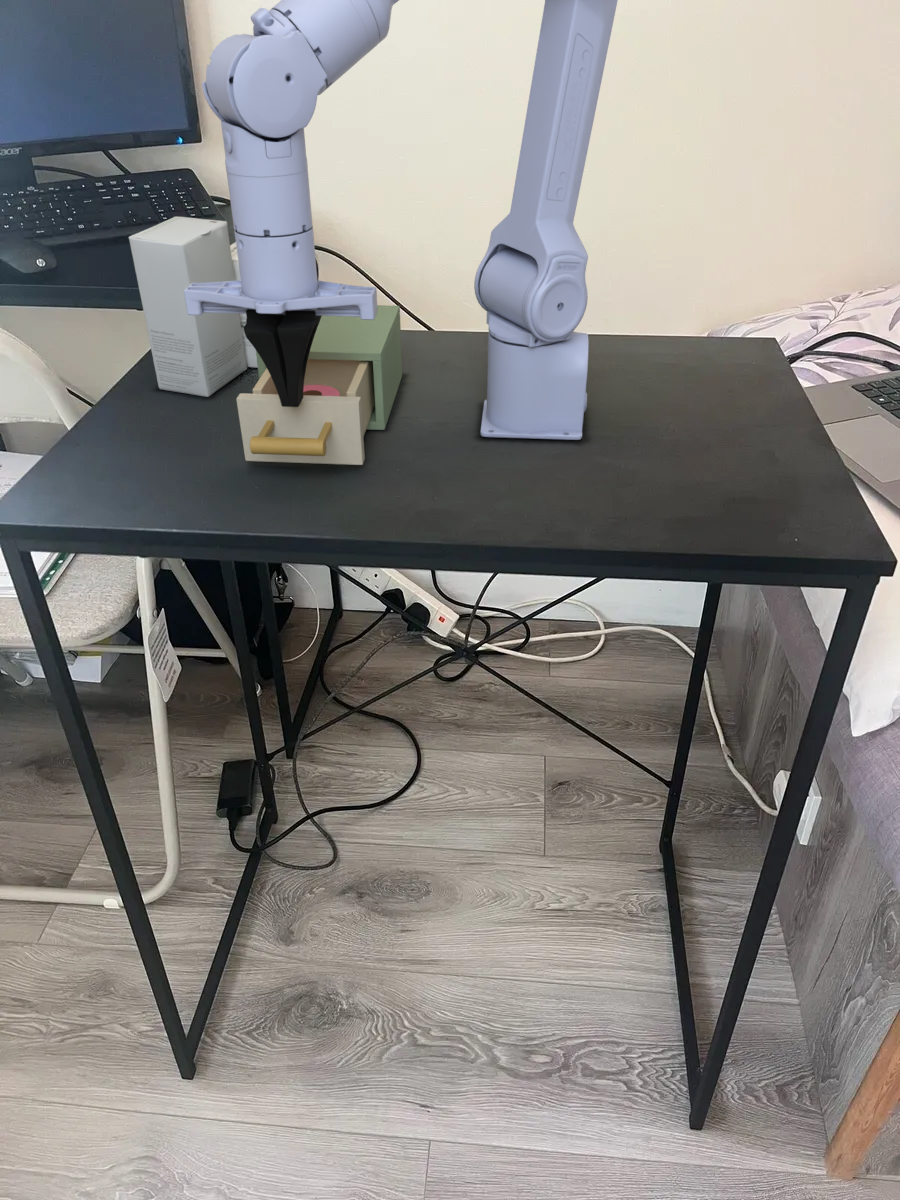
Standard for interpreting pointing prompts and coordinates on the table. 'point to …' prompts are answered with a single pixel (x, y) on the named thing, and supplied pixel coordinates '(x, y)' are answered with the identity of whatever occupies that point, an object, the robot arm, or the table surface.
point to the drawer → (310, 417)
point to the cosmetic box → (180, 341)
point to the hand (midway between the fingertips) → (292, 402)
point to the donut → (320, 390)
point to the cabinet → (363, 352)
